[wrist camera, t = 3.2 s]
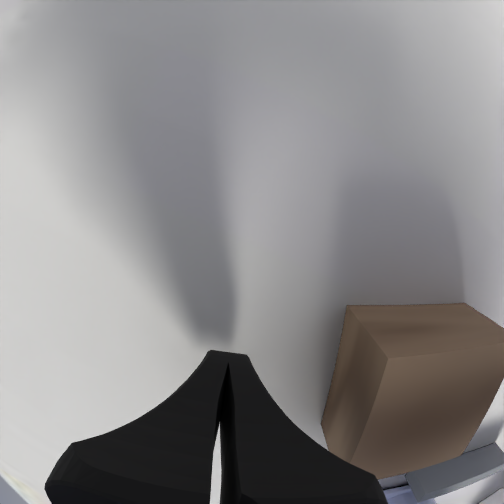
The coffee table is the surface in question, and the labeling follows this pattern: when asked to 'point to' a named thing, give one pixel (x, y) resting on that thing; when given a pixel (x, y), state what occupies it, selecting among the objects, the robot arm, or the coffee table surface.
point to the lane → (455, 472)
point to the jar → (495, 498)
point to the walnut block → (411, 385)
